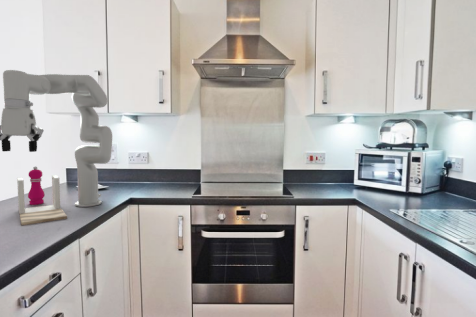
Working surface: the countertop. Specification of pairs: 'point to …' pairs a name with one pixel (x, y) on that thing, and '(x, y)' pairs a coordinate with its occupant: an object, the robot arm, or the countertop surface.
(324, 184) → the countertop surface
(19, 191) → the gate
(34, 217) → the oak board
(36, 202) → the pepper mill
